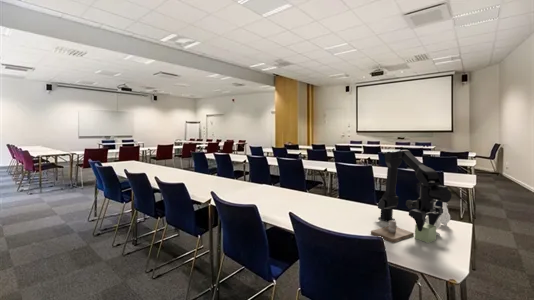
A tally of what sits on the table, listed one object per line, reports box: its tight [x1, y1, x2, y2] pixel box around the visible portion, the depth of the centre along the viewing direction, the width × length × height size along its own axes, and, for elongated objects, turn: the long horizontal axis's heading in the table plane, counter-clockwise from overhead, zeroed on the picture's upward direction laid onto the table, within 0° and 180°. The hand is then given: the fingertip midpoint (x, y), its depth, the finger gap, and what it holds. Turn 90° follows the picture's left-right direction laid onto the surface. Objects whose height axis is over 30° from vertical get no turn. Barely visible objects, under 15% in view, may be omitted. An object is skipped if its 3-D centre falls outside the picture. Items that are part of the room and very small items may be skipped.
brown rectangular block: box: [370, 220, 415, 243], centre depth 130 cm, size 16×12×7 cm
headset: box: [425, 200, 451, 236], centre depth 137 cm, size 20×7×18 cm, turn 130°
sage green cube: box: [414, 223, 437, 244], centre depth 125 cm, size 6×6×7 cm
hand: (425, 229), depth 125 cm, fingers open, 9 cm apart
